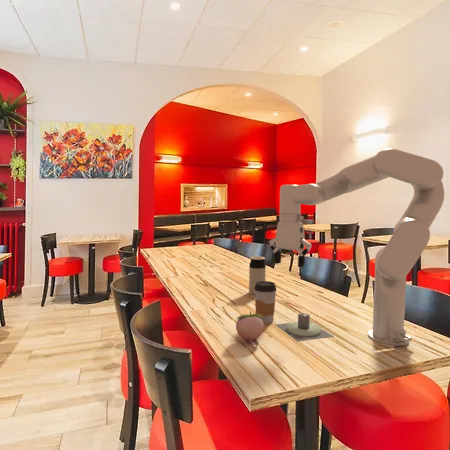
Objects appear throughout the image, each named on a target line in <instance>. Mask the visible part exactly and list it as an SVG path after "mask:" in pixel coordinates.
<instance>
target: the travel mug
mask: <svg viewBox="0 0 450 450" xmlns="http://www.w3.org/2000/svg"><path fill="white" fill-rule="evenodd" d="M249 258H250V262H249V266H248V267H249V268H248V271H249V273H248V279H249V280H248V281H249V282H248V292H249V294H250V295H254V296H255V289H254V288H255V285H256V282H260V281H266V270H267V269H266V267H267V266H266V262H265V261H266V257H264V256H259V255H258V256H257V255H256V256H255V255H253V256H250V257H249Z"/></svg>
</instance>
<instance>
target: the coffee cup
mask: <svg viewBox="0 0 450 450" xmlns="http://www.w3.org/2000/svg"><path fill="white" fill-rule="evenodd" d="M254 289H255V295H254V297H255V298H254V299H255V301H254V303H255V314H259V315H261V316H262V317H263V318H262V317H260V318H261V319H262V321H263V324H264V325H265V324H267V325H268V324H272V323H273V322H274V316H275V308H276V307H275V306H276V293H277V286H276V283H275V282H272V281H268V280H267V281H266V280H265V281H260V282H256V285H255V288H254Z"/></svg>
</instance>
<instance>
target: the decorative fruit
mask: <svg viewBox="0 0 450 450" xmlns="http://www.w3.org/2000/svg"><path fill="white" fill-rule="evenodd" d="M260 317H262V316H261V315H259V314H256V313H252V311H249V314H245V313H244V314H243V313H242V314H240V315H239V316H238V317H236V323H235V330H236V332H237V334H238V336H240V338H242V339H243V340H245V341H248V342H251V341H254V340H256V339H259V338H260V337H261V335H262V334H263V332H264V329H265V323H263V321H262V319H261V318H260ZM262 318H263V317H262Z"/></svg>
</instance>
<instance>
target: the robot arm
mask: <svg viewBox="0 0 450 450" xmlns="http://www.w3.org/2000/svg"><path fill="white" fill-rule="evenodd" d="M388 178H392V179H395V180H398V181H400V182H404V183H406V184H409V185H411V186H412V188H413V191H414V192H413V196H412V199H411V200H410V203H409V204H408V207H407V208H406V210H405V211H404V212H403V214H402V216H401V217H400V219H399V220H398V222H397V223H396V224H395V226H394V227H393V230H392V231H393V232H392V235H391V237H390V239H389V241H388V242H387V244H386V245H385V246H383V247H381V248H380V249H379V250H378V251H377V252H376V254H375V258H374V289H373V290H374V291H373V292H374V294H373V308H372V309H373V313H372V314H373V315H372V329H370V330H368V332H367V337H368V338H369V339H371V340H372V341H374V342H377V343H380V344H384V345H388V346H393V347H402V346H407V345H409V344H410V342H411V341H412V340H413V338H412V336H410V335H407V329H405V312H406V311H405V310H406V309H405V308H406V297H407V296H406V294H407V293H406V292H407V276H408V274H409V273H410V272H411V270H412V268H413V267H414V266H415V265H416V263H417V262H418V260H419V259H420V257H421V255H422V254H423V252H424V251H425V249H426V247H427V245H428V244H429V242H430V238H431V230H430V227H431V225H432V224H433V222H434V221H435V219H436V217H437V215H438V214H439V212H440V210H441V208H442V206H443V203H444V201H445V188H444V184H443V181H442V179H443V178H444V170H443V167H442V165H441V164H440V163H439V162H437V161H436V160H434V159H432V158H431V159H430V158H428V157H424V156H421V155H417V154H413V153H411V152H407V151H403V150H400V149H397V148H391V147H387V148H384V149H381V150H379V152H377V153H376V154H374V155H372V156H370V157H368V158H365V159H363V160H361V161H358V162H355V163H352V164H350V165H348V166H346V167H344V168H343V169H341V170H340V171H338V172H337V173H336V174H333V176H330V177H329V178H326V179H324V180H321V181H319V182H317V183H307V184H304V183H303V184H282V185H280V189H279V221H278V223H277V227H276V231H275V237H274V238H272V239H270V240H269V241H268V243H269V246H270V249H271V251H272V252H273V254H274V264H275V265H279V264H281V263H282V252H281V251H282V250H286V251H287V250H288V251H296V252H297V253H298V256H297V267H298V268H302V267H304V266H305V262H306V261H305V259H306V258H305V257H306V255H307V254H308V253H309V252H310V250H311V248H312V245H313V244H312V243H310V242H309V241H308V240H305V239H306V238H305V227H304V224H303V222H302V220H304V219H305V217H304V216H303V215H302V213H301V211H302V210H301V207H302V206H301V205H306V206H314V205H315V206H316V205H319V204H322V203H324V202H326V201H330V200H332V199H335V198H337V197H340V196H342V195H344V194H348V193H352V192H355V191H357V190H360V189H362V188H365V187H367V186H369V185H372V184H375V183H377V182H380V181H383V180H385V179H388Z"/></svg>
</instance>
